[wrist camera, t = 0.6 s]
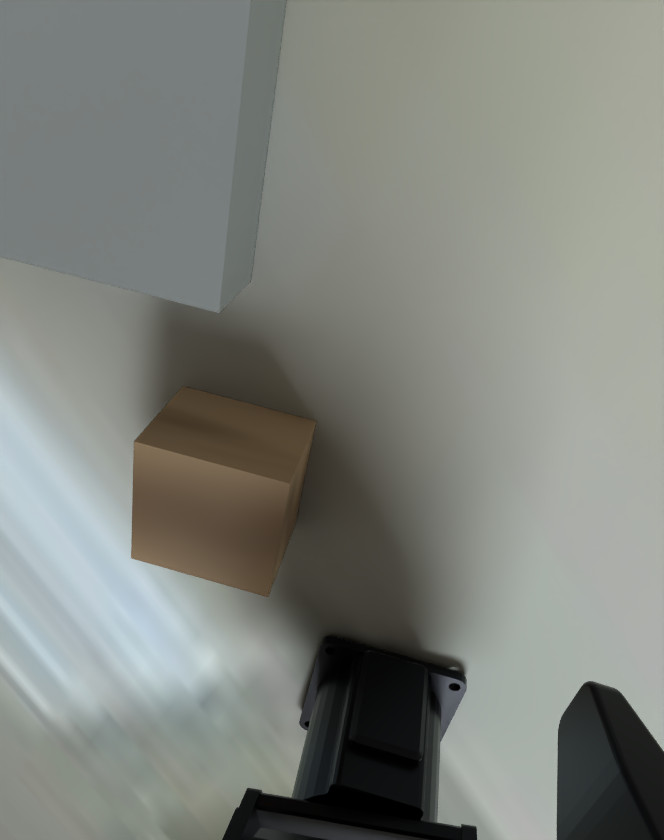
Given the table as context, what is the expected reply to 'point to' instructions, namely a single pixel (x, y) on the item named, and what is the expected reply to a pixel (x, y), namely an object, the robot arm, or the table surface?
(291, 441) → the block
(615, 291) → the table surface
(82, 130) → the base
